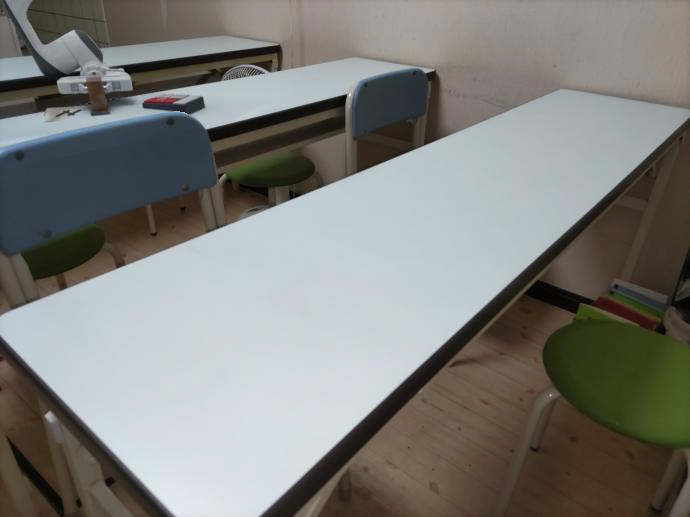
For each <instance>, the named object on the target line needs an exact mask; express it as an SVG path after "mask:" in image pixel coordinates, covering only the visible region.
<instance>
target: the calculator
mask: <svg viewBox="0 0 690 517" xmlns="http://www.w3.org/2000/svg"><path fill="white" fill-rule="evenodd" d="M204 99H205V98H204V96H203V95H195V94H194V95H193V94H191V95H190V94H187V93H186V94H184V93H183V94H181V93H177V94H176V93H161V94H159V95H156V96H154V97H150V98H147V99H145V100H143V102H142V105H141V106H142V109H147V110H158V111H167V112H173V111H180V112H185V113H187V114H190V115H193V114H194V113H197V112H199V111H201V110H203V109H206V104H205V100H204Z"/></svg>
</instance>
